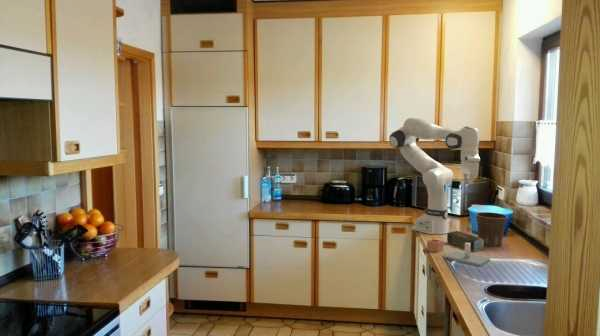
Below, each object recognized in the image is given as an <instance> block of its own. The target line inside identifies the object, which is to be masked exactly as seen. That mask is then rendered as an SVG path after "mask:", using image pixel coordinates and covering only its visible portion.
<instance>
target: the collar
mask: <svg viewBox="0 0 600 336" xmlns="http://www.w3.org/2000/svg"><path fill="white" fill-rule="evenodd" d="M426 244H427V245H426V251H429V252H433V253H439V252H442V251H443V250H444V240H440V239H437V238H431V239H429V240H427V243H426Z"/></svg>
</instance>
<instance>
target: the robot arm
mask: <svg viewBox="0 0 600 336" xmlns="http://www.w3.org/2000/svg"><path fill="white" fill-rule="evenodd" d="M420 139H421V140H428V141H429V140H444V141H445V146H446V148H448V149H449V150H451V151H457V150H458V151H459V150H460V160H461V161H460V170H459V171H460V172H461V173H462V177H463V181H464V182H468V184H470V185H473V183H474V179H475V177H478V175H479V167H480V162H481V158H480V156H479V145H480V144H479V143H480V133H479V129H478V128H476V127H474V126H464V127H462V128H460V129H459V130H457V131H456V130H451V129H447V128H446V127H445V128H444V127H442V126H439V125H437V124H435V123H433V122H430V121H428V120H425V119H421V118H417V117H409V118H406V119H405V121H404V123H403V125H402V126H401V127H400V128H398V129H396V130H395V131H393V132H392V133H391V134H390V135H389V139H388V140H389V143H390V144H391V146H392V147H393V148H395V149H400V154H401V155H402V156H403V158H404V159H405V160H406V161H407V162H408V163H409V164H410V165H411V166H412V167H413V168H414V169H415V170H417V171H418V172H419V173H422V174H423V175H422V181H423V184H424V185H425V187H426V191H427V196H428V197H427V207H425V208H424V209H423V212H424V213H423V214H422V215H421V216H418V217H417V218H416V220H415V222H414V225H412V226H411V228H410V230H412V231H417V232H419V233H424V234H427V235H442V234H443V235H444V234H447V233H449V232H450V231H449V227H448V195H447V194H446V191H445V186H447V185H449V184H450V183H451V182H452V181H453V179H454V172H453V171H452V169H451V168H449V167H446V166H445V165H443V164H441V163H440V162H438V161H436V160H435V159H433V158H432V157H431V156H429V155H428V154H427V153H426V152H425V151H424V150H423V149H421V148H420V147H419V146H418V144H417V142H419V141H420ZM468 176H469V177H468ZM468 178H469V179H468Z"/></svg>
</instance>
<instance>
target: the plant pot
mask: <svg viewBox="0 0 600 336" xmlns="http://www.w3.org/2000/svg"><path fill="white" fill-rule="evenodd" d="M475 216H476V222H477V237H478V238H482V239H484V246H487V245H488V246H489V247H500V246H501V245H503V237H504V232H505V226H506V224H507V220H508V217H509V216H508V215H506V214H504V213H498V212H491V211H490V212H489V211H488V212H487V211H485V212H484V211H483V212H482V211H481V212H476V213H475Z"/></svg>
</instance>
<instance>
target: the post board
mask: <svg viewBox="0 0 600 336" xmlns="http://www.w3.org/2000/svg"><path fill="white" fill-rule="evenodd" d="M470 246H471V243H465V248H464V252H463V251H457V250H454V251H452V252H450V253H448V254H446V255H444V256H443V258H444V259H445V258H448V259H447V260H449V259H453V260H456V261H455V262H459V263H462V264H467V265H472V266H476V267H482V266H484V265H485V264H487V263H489V262H490V261H491V257H485V256H482V255H475V254H471V250H470ZM453 260H452V261H453Z"/></svg>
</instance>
